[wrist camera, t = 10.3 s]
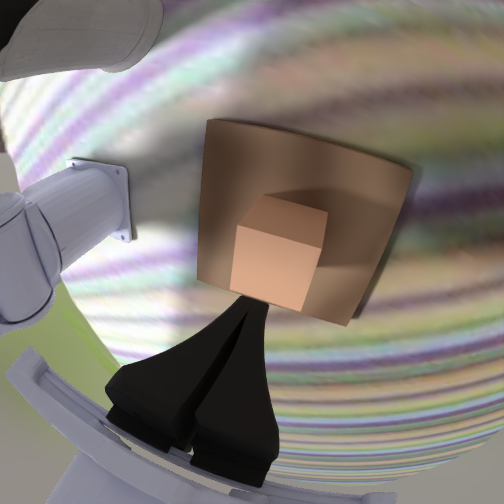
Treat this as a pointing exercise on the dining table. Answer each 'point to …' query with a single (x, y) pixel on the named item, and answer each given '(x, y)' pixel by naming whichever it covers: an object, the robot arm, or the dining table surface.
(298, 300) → the peach tilted cube
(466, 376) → the dining table surface
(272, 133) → the post base
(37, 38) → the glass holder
